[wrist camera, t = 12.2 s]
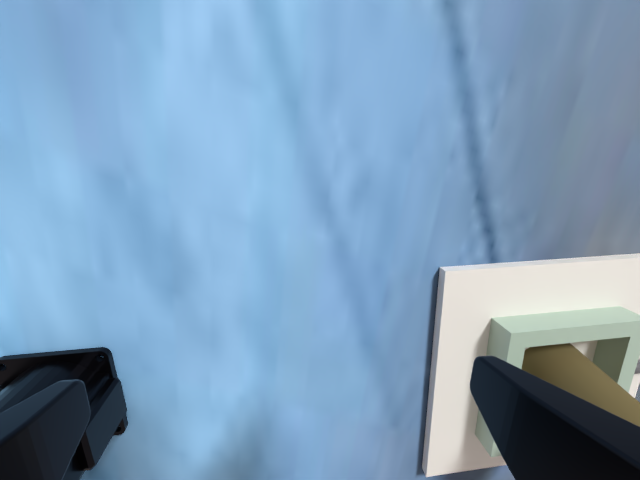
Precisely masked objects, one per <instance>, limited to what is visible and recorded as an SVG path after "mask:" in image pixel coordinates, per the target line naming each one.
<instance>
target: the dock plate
mask: <svg viewBox="0 0 640 480" xmlns="http://www.w3.org/2000/svg"><path fill="white" fill-rule="evenodd" d="M565 343H570V344H572V345H573V346H574V347H575V348H576V349H578V350H579V351H580V352H581V353H582V354H583V355H585V356H586V357H587V358H588V359H589V360H590V361H592V362H593V363H594V364H595V365H596V366H598V367H599V368H600V369H601V370H602V371H603V372H605V373H606V374H607V375H608V376H609V377H610V378H612V379H613V380H614V381H615V382H616V383H617V384H619V385H620V386H621V387H622V388H623V389H624V390H626V391H627V392H628V393H629V394H630V395H631V396H633V397H634V398H635V396H636V393H637V389H638V386H639V383H640V253H637V254H623V255H608V256H594V257H579V258H565V259H551V260H536V261H522V262H507V263H493V264H478V265H464V266H449V267H440V270H439V281H438V292H437V304H436V315H435V326H434V338H433V349H432V360H431V371H430V383H429V394H428V405H427V417H426V428H425V439H424V450H423V462H422V469H423V471H424V473H425V475H426V477H430V476H436V475H443V474H450V473H456V472H463V471H469V470H476V469H482V468H489V467H496V466H502V465H507V464H506V463H505V461H504V459H503V457H502V455H501V453H500V451H499V450H498V448H497V446H496V443H495V441H494V439H493V437H492V435H491V433H490V431H489V429H488V427H487V425H486V423H485V421H484V419H483V417H482V415H481V413H480V411H479V409H478V406H477V404H476V402H475V400H474V398H473V396H472V394H471V391H470V379H471V374H472V368H473V363H474V360H475V358H476V357H478V356H490V355H491V356H495V357H497V358H499V359H501V360H503V361H506V362H508V363H510V364H512V365H514V366H516V367H518V368H520V369H522V363H523V358H524V352H525V350H526V349H528V348H529V347H536V346H546V345H555V344H565Z"/></svg>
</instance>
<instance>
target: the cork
mask: <svg viewBox="0 0 640 480" xmlns="http://www.w3.org/2000/svg"><path fill="white" fill-rule="evenodd" d="M522 370H524V371H526V372H528V373H530V374H532V375H534V376H536V377H538V378H540V379H543V380H545V381H547V382H549V383H551V384H553V385H555V386H557V387H559V388H561V389H563V390H565V391H567V392H569V393H571V394H573V395H575V396H577V397H579V398H582V399H584V400H586V401H588V402H590V403H592V404H594V405H596V406H598V407H600V408H602V409H604V410H606V411H608V412H610V413H612V414H614V415H616V416H619V417H621V418H623V419H625V420H627V421H629V422H631V423H633V424H635V425H637V426H639V427H640V402H638V401H637V400H636V399H635V398H634V397H633V396H631V395H630V394H629V393H628V392H627V391H626V390H624V389H623V388H622V387H621V386H620V385H619V384H617V383H616V382H615V381H614V380H613V379H612V378H610V377H609V376H608V375H607V374H606V373H605V372H603V371H602V370H601V369H600V368H599V367H598V366H596V365H595V364H594V363H593V362H592V361H590V360H589V359H588V358H587V357H586V356H585V355H583V354H582V353H581V352H580V351H579V350H578V349H576V348H575V347H574V346H573V345H572V344H570V343H565V344H555V345H546V346H536V347H529V348H528V349H526V350H525V352H524V358H523V363H522Z"/></svg>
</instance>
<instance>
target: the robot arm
mask: <svg viewBox="0 0 640 480" xmlns="http://www.w3.org/2000/svg"><path fill="white" fill-rule="evenodd" d="M99 355H103V356H104V358H102V357H100V356H99ZM3 364H4V365H5V366H4V365H3ZM470 391H471V394H472V396H473V398H474V400H475V402H476V404H477V406H478V409H479V411H480V413H481V415H482V417H483V419H484V421H485V423H486V425H487V427H488V429H489V431H490V433H491V435H492V437H493V439H494V441H495V443H496V446H497V448H498V450H499V451H500V453H501V455H502V457H503V459H504V461H505V463H506V464H507V466H508V468H509V470H510V471H511V473H512V475H513V476H514V478H515V480H640V427H639V426H637V425H635V424H633V423H631V422H629V421H627V420H625V419H623V418H621V417H619V416H616V415H614V414H612V413H610V412H608V411H606V410H604V409H602V408H600V407H598V406H596V405H594V404H592V403H590V402H588V401H586V400H584V399H582V398H579V397H577V396H575V395H573V394H571V393H569V392H567V391H565V390H563V389H561V388H559V387H557V386H555V385H553V384H551V383H549V382H547V381H545V380H543V379H540V378H538V377H536V376H534V375H532V374H530V373H528V372H526V371H524V370H522V369H520V368H518V367H516V366H514V365H512V364H510V363H508V362H506V361H503V360H501V359H499V358H497V357H495V356H491V355H490V356H478V357H476V358H475V360H474V363H473V368H472V374H471V379H470ZM126 411H127V408H126V404H125V400H124V395H123V391H122V387H121V382H120V380H119V379H118V378H117V374H116V370H115V365H114V361H113V357H112V353H111V351H110V350H109V349H107V348H104V347H100V348H89V349H77V350H66V351H55V352H44V353H33V354H21V355H10V356H3V357H0V480H80V478H81V477H82V475H83V473H84V472H85V470H91V469H92V468H93V467H94V466H95V465H96V464H97V462H98V460H99V459H100V457H101V455H102V453H103V452H104V450H105V448H106V446H107V445H108V443H109V441H110V439H111V438H112V436H113V435H119V434H122V433H124V431H125V429H126V428H127V426H128V422H127V417H126ZM118 426H120V427H118Z"/></svg>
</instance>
